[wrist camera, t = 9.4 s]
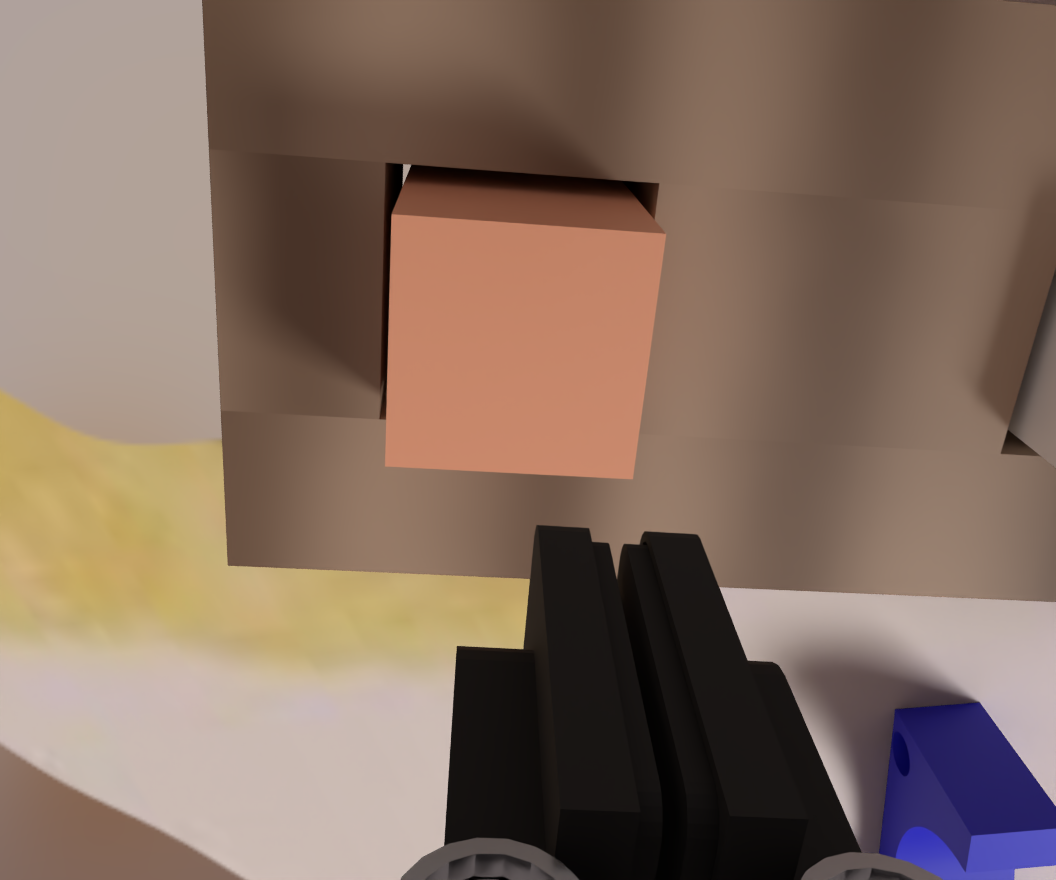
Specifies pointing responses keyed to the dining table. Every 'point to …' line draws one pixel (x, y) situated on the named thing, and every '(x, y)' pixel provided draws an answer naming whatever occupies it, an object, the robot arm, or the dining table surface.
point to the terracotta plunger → (519, 323)
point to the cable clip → (963, 798)
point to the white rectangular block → (1039, 388)
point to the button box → (685, 284)
